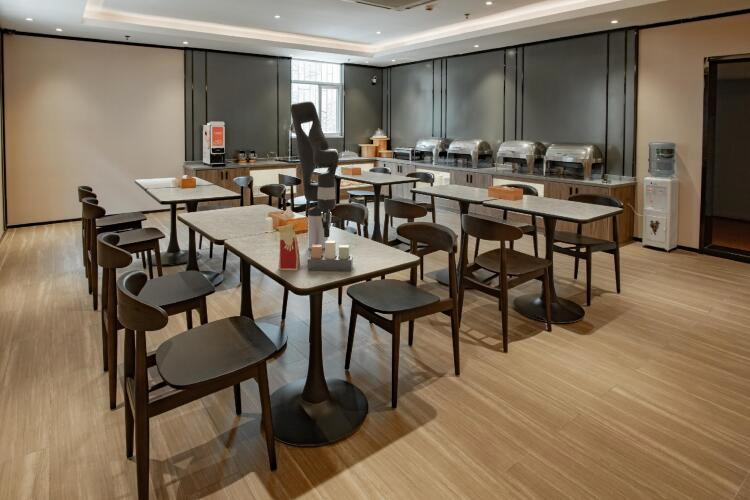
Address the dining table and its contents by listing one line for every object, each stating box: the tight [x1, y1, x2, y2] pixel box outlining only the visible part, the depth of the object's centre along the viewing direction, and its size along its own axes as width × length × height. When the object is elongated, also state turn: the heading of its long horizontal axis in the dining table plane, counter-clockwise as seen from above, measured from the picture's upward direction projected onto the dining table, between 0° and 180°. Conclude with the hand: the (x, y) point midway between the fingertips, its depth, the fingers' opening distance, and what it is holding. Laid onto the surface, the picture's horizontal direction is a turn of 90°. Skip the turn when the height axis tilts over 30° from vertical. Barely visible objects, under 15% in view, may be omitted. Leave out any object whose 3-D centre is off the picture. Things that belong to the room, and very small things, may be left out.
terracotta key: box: [310, 245, 323, 259], centre depth 224 cm, size 4×4×7 cm
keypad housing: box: [307, 253, 354, 272], centre depth 225 cm, size 19×9×5 cm, turn 89°
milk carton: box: [276, 223, 301, 271], centre depth 223 cm, size 9×9×20 cm
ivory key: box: [324, 240, 337, 259], centre depth 224 cm, size 4×4×7 cm
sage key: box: [338, 244, 350, 259], centre depth 224 cm, size 4×4×7 cm
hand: (326, 237), depth 222 cm, fingers closed
